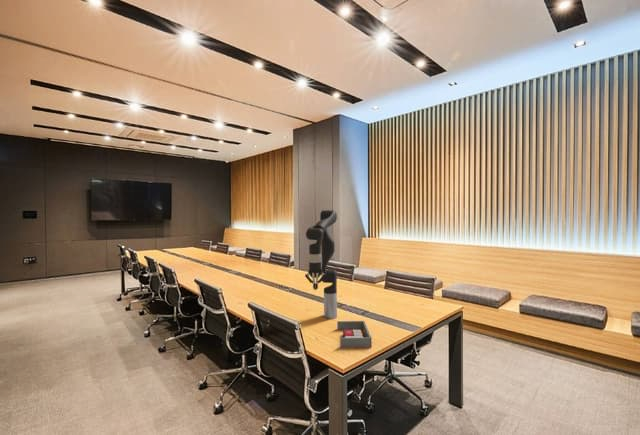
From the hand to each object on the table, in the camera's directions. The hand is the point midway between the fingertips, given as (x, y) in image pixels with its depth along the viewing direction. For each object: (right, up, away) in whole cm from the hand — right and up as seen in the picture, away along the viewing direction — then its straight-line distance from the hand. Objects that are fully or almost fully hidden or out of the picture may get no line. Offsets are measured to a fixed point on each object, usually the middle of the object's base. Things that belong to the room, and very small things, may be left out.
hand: (315, 289), depth 182 cm
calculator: (+22, -28, -9) cm, 36 cm away
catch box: (+22, -27, -6) cm, 35 cm away
